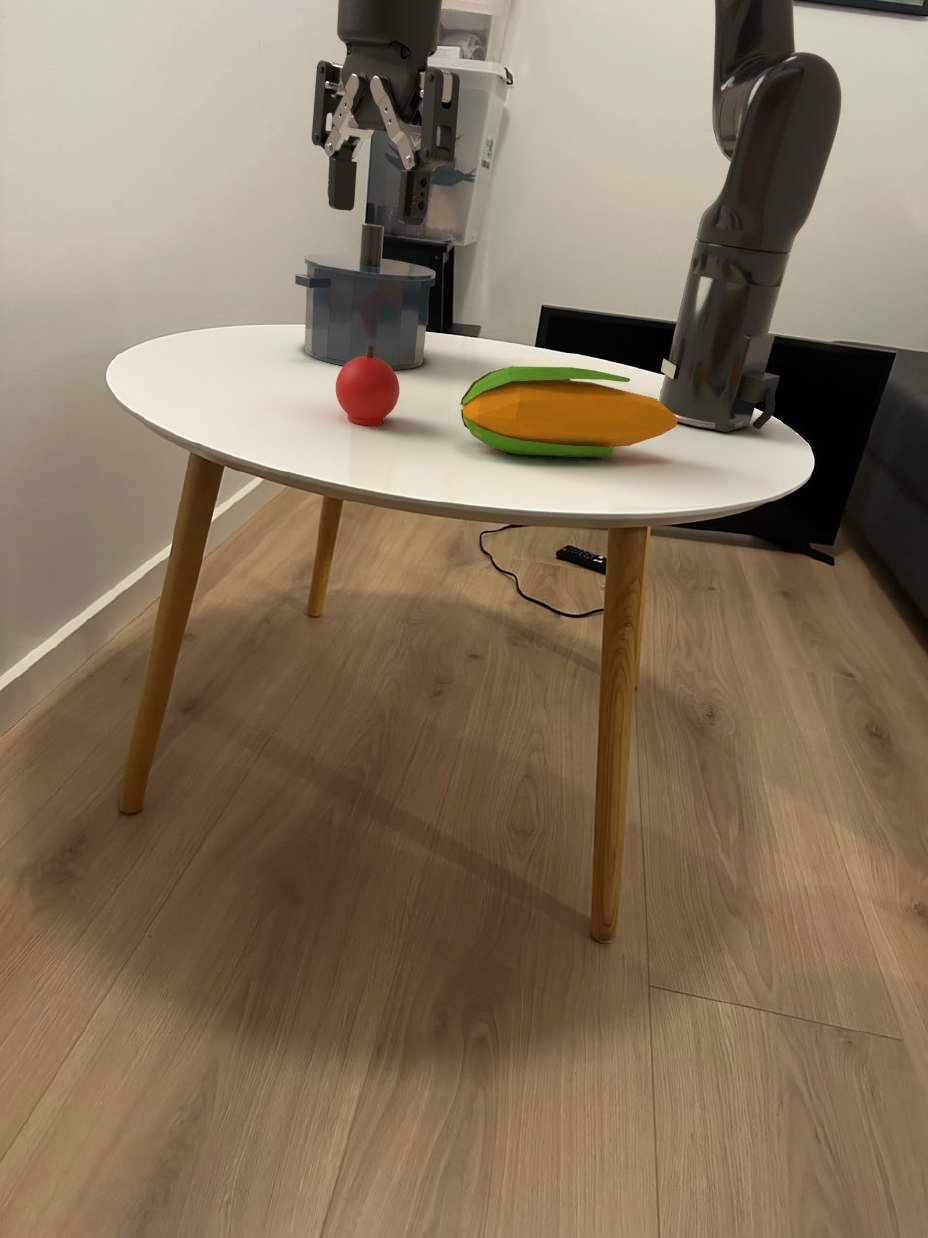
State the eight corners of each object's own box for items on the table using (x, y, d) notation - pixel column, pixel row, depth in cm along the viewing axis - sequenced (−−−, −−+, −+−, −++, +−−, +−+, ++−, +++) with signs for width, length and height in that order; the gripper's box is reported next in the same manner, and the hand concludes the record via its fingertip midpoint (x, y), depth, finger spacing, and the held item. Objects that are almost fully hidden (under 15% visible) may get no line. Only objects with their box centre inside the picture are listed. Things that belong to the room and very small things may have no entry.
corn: (456, 346, 72) (668, 360, 77) (444, 432, 76) (647, 440, 81) (479, 374, 66) (707, 387, 71) (466, 466, 70) (683, 472, 75)
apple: (409, 424, 77) (416, 350, 74) (363, 433, 73) (368, 354, 70) (367, 408, 80) (372, 336, 77) (321, 415, 76) (324, 339, 73)
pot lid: (461, 285, 97) (466, 236, 94) (365, 287, 87) (368, 232, 84) (373, 263, 105) (376, 218, 102) (276, 263, 95) (277, 212, 92)
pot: (461, 362, 103) (471, 279, 98) (340, 376, 90) (345, 280, 85) (383, 338, 110) (389, 259, 106) (261, 347, 97) (262, 257, 93)
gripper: (499, -17, 60) (468, 232, 68) (368, -15, 68) (353, 207, 76) (422, -45, 55) (398, 227, 63) (291, -40, 63) (283, 201, 71)
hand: (374, 216), depth 69 cm, fingers open, 8 cm apart
